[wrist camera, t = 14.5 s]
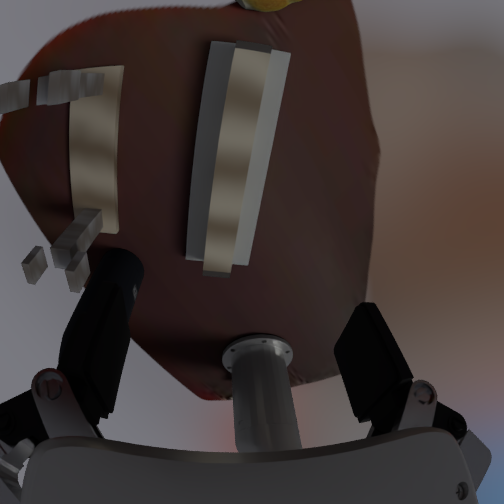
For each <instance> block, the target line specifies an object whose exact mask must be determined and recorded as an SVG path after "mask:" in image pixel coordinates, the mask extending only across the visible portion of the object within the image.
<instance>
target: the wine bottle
mask: <svg viewBox="0 0 504 504" xmlns="http://www.w3.org/2000/svg"><path fill="white" fill-rule="evenodd" d="M143 276H144V268H143V265H142V263H141V261H140V260H139V258H138V257H136V256H135V255H134V254H133V253H131V252H129V251H127V250H123V249H112V250H110V251H108V252H107V253H106V254H105V255H104V256H103V258H102V260H101V261H100V263H99V265H98V267H97V268H96V270H95V272H94V274H93V276H92V277H91V279H90V281H89V283H88V285H87V287H86V289H85V291H84V292H83V294H82V296H81V299H80V300H79V302H78V304H77V306H76V308H75V310H74V312H73V315H72V317H71V319H70V321H69V323H68V325H67V327H66V329H65V332H64V334H63V337H62V342H61V347H60V353H59V361H60V359H61V356H62V354H63V351H64V349H65V346H66V344H67V342H68V339H69V337H70V335H71V332H72V330H73V328H74V326H75V324H76V321H77V319H78V317H79V315H80V314H81V313H82V312H87V311H88V309H89V307H90V305H91V302H92V300H93V298H94V296H95V294H96V292H97V290H98V288H99V286H100V284H101V282H102V281H110V282H117V284H118V287H122V290H123V296H124V302H125V308H126V314H127V320H128V322H129V319H130V315H131V312H132V309H133V306H134V303H135V300H136V297H137V294H138V291H139V288H140V285H141V282H142V279H143ZM59 361H58V363H59Z"/></svg>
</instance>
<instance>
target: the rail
mask: <svg viewBox="0 0 504 504" xmlns="http://www.w3.org/2000/svg"><path fill="white" fill-rule="evenodd" d="M271 51H272V46H269V45H264V44H258V43H252V42H246V41H239V40H237V41H236V46H235V51H234V56H233V61H232V66H231V72H230V77H229V82H228V88H227V94H226V99H225V105H224V111H223V117H222V123H221V130H220V136H219V143H218V149H217V156H216V163H215V171H214V178H213V185H212V193H211V201H210V210H209V218H208V227H207V236H206V246H205V255H204V266H203V276H212V277H223V278H230V273H231V266H232V260H233V254H234V248H235V243H236V237H237V231H238V225H239V219H240V214H241V208H242V202H243V197H244V191H245V185H246V180H247V174H248V169H249V163H250V158H251V152H252V147H253V142H254V136H255V131H256V126H257V121H258V116H259V110H260V105H261V100H262V95H263V90H264V85H265V80H266V75H267V70H268V65H269V60H270V55H271Z"/></svg>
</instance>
